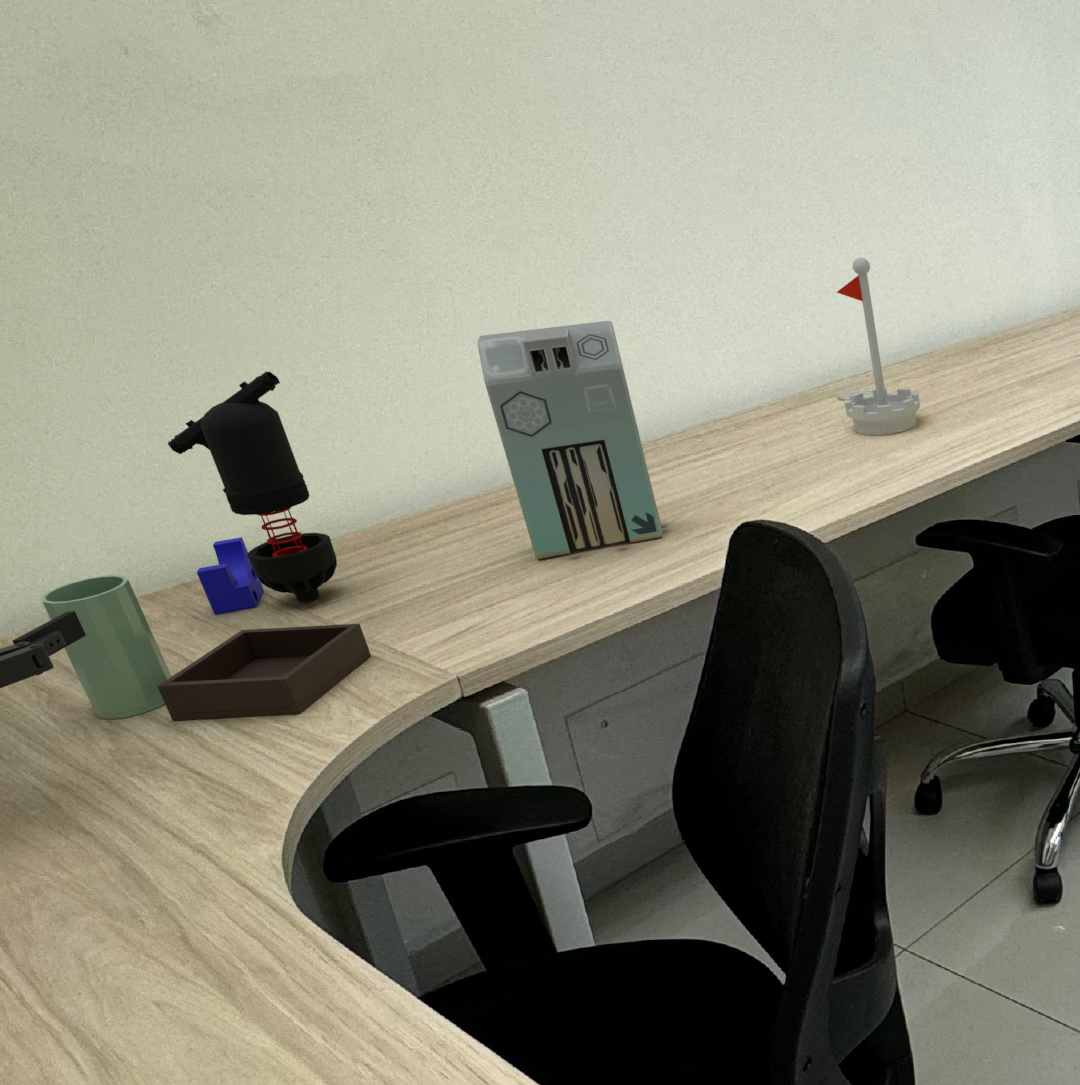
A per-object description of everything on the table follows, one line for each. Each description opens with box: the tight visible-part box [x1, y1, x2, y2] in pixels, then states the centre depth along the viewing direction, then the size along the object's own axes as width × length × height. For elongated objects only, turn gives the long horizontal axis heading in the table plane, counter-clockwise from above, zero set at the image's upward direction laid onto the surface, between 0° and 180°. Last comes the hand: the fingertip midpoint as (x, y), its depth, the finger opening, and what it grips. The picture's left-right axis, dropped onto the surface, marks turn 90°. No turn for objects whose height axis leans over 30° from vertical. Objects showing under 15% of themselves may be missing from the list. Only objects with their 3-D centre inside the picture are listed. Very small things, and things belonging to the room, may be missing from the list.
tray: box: [157, 623, 372, 722], centre depth 139 cm, size 14×14×4 cm
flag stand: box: [836, 256, 921, 436], centre depth 218 cm, size 13×13×30 cm
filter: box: [167, 371, 338, 603], centre depth 156 cm, size 14×9×30 cm
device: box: [477, 320, 664, 560], centre depth 171 cm, size 16×8×30 cm, turn 115°
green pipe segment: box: [39, 574, 172, 720], centre depth 135 cm, size 7×7×14 cm
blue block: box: [196, 536, 265, 616], centre depth 164 cm, size 12×4×6 cm, turn 27°
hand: (7, 627), depth 123 cm, fingers open, 13 cm apart
